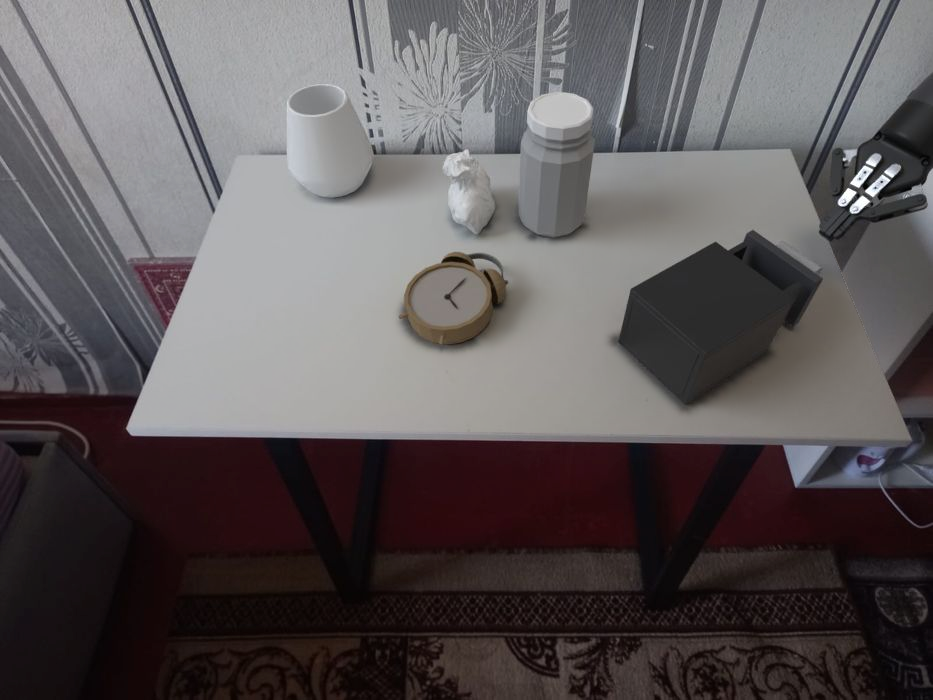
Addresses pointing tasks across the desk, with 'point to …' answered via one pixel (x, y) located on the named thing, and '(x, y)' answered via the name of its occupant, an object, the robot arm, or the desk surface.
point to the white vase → (326, 141)
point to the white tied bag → (468, 191)
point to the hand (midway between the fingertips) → (824, 236)
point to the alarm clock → (453, 298)
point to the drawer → (782, 270)
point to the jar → (555, 164)
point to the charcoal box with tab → (702, 320)
